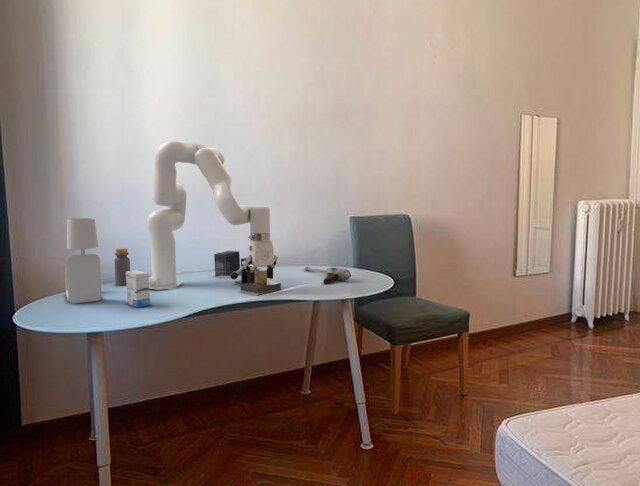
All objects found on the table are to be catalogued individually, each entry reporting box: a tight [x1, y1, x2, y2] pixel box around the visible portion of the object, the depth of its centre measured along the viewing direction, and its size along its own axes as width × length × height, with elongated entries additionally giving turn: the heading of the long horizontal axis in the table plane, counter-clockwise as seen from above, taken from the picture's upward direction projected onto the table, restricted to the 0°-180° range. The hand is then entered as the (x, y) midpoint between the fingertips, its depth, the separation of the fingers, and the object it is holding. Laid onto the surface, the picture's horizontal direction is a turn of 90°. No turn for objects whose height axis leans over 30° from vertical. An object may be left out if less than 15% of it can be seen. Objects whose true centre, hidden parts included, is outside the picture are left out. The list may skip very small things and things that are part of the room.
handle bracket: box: [234, 257, 258, 285], centre depth 221 cm, size 9×8×11 cm
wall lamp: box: [64, 217, 103, 304], centre depth 193 cm, size 10×21×30 cm, turn 32°
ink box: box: [126, 269, 151, 308], centre depth 185 cm, size 9×5×12 cm, turn 45°
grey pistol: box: [304, 266, 352, 285], centre depth 236 cm, size 5×35×13 cm
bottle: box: [113, 247, 131, 286], centre depth 219 cm, size 6×6×15 cm
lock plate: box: [240, 279, 282, 297], centre depth 208 cm, size 12×10×3 cm
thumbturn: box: [255, 267, 268, 285], centre depth 207 cm, size 5×2×6 cm, turn 51°
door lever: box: [229, 266, 244, 281], centre depth 218 cm, size 12×3×3 cm, turn 141°
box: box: [213, 250, 241, 277], centre depth 239 cm, size 11×7×10 cm, turn 154°
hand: (260, 280), depth 208 cm, fingers open, 9 cm apart
